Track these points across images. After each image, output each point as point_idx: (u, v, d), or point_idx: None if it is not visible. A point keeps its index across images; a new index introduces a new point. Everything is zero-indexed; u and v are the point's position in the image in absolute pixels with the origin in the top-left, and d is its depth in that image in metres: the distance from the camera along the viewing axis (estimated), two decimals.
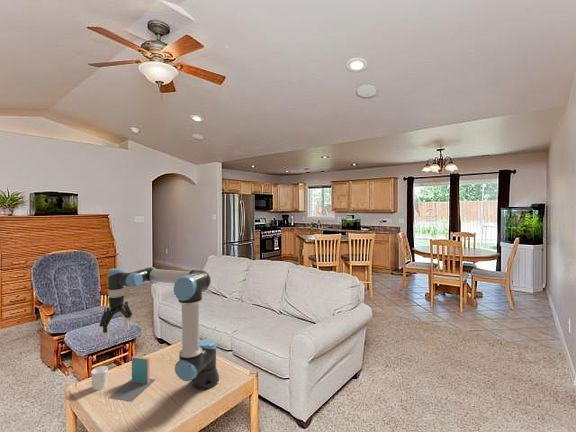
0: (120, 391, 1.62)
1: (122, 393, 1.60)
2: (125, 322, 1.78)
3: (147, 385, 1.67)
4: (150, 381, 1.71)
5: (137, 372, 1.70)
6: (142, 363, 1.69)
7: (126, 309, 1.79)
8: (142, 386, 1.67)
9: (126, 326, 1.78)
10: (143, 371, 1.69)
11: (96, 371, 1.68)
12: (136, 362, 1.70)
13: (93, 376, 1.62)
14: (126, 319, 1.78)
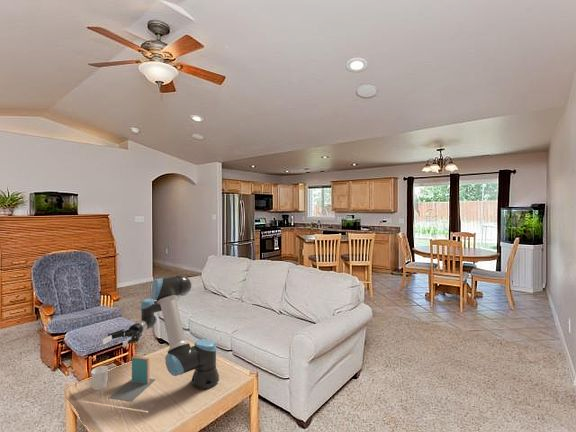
0: (120, 391, 1.62)
1: (122, 393, 1.60)
2: None
3: (147, 385, 1.67)
4: (150, 381, 1.71)
5: (137, 372, 1.70)
6: (142, 363, 1.69)
7: None
8: (142, 386, 1.67)
9: None
10: (143, 371, 1.69)
11: (96, 371, 1.68)
12: (136, 362, 1.70)
13: (93, 376, 1.62)
14: None
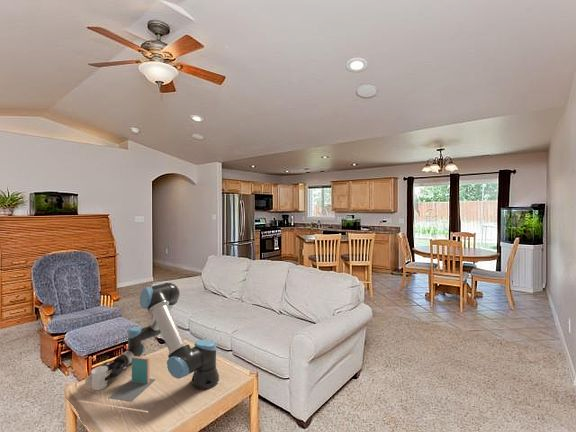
0: (120, 391, 1.62)
1: (122, 393, 1.60)
2: None
3: (147, 385, 1.67)
4: (150, 381, 1.71)
5: (137, 372, 1.70)
6: (142, 363, 1.69)
7: None
8: (142, 386, 1.67)
9: None
10: (143, 371, 1.69)
11: (96, 371, 1.68)
12: (136, 362, 1.70)
13: (93, 376, 1.62)
14: None
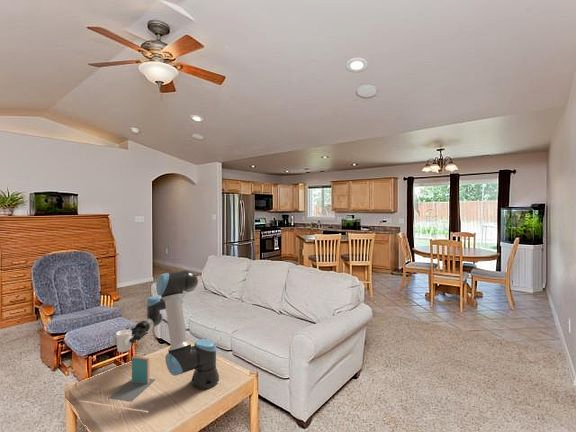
0: (120, 391, 1.62)
1: (122, 393, 1.60)
2: None
3: (147, 385, 1.67)
4: (150, 381, 1.71)
5: (137, 372, 1.70)
6: (142, 363, 1.69)
7: None
8: (142, 386, 1.67)
9: None
10: (143, 371, 1.69)
11: (120, 334, 1.74)
12: (136, 362, 1.70)
13: (118, 337, 1.69)
14: None
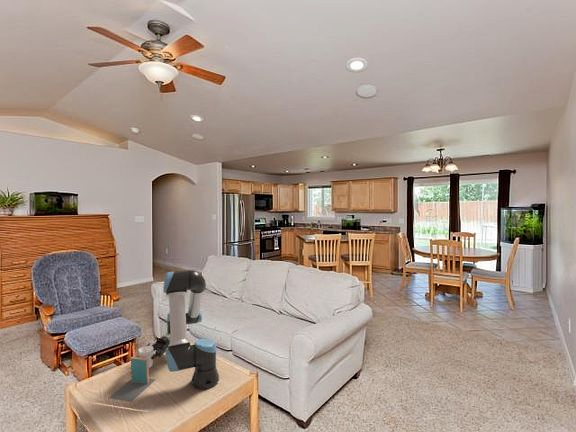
0: (120, 391, 1.62)
1: (122, 393, 1.60)
2: None
3: (147, 385, 1.67)
4: (150, 381, 1.71)
5: (137, 372, 1.69)
6: (141, 364, 1.68)
7: None
8: (142, 386, 1.67)
9: None
10: (143, 371, 1.69)
11: (142, 350, 1.77)
12: (135, 363, 1.69)
13: (141, 355, 1.72)
14: None
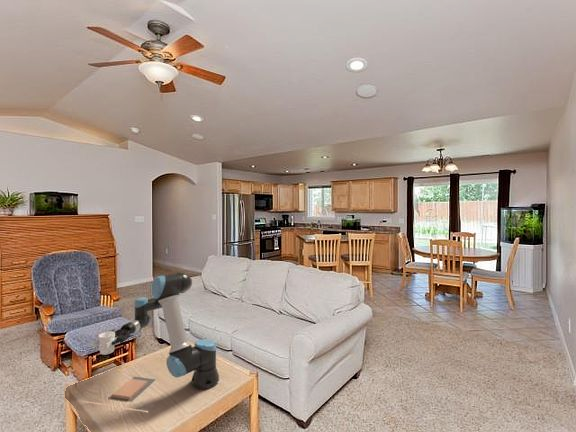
0: None
1: None
2: None
3: (147, 385, 1.67)
4: (150, 381, 1.71)
5: None
6: None
7: None
8: None
9: None
10: None
11: (103, 336, 1.70)
12: None
13: (100, 340, 1.65)
14: None
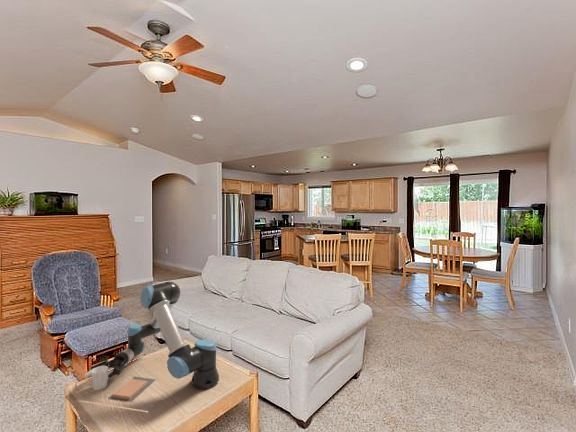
0: None
1: None
2: None
3: (147, 385, 1.67)
4: (150, 381, 1.71)
5: None
6: None
7: None
8: None
9: None
10: None
11: (96, 371, 1.68)
12: None
13: (93, 376, 1.62)
14: None
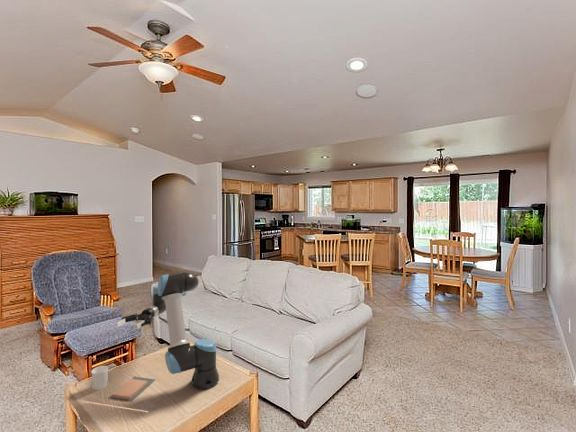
0: None
1: None
2: None
3: (147, 385, 1.67)
4: (150, 381, 1.71)
5: None
6: None
7: None
8: None
9: None
10: None
11: (96, 371, 1.68)
12: None
13: (93, 376, 1.62)
14: None
